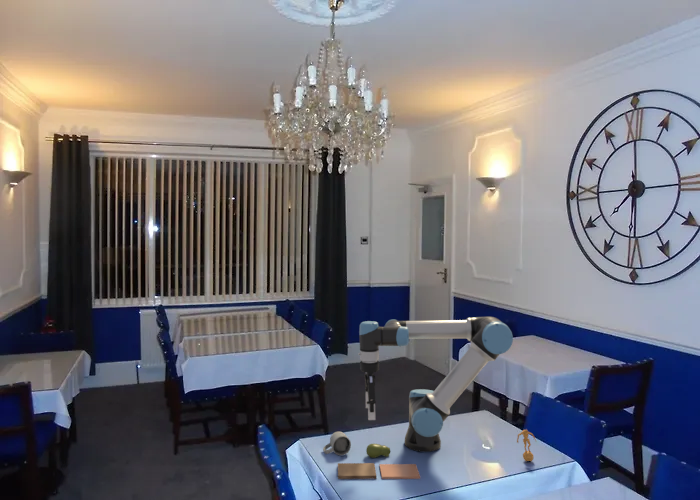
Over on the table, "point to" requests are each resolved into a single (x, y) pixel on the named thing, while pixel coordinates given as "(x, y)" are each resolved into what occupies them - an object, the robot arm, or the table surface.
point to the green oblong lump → (377, 450)
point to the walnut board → (356, 471)
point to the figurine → (527, 454)
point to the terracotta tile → (399, 471)
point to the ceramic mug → (338, 444)
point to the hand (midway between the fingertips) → (370, 413)
